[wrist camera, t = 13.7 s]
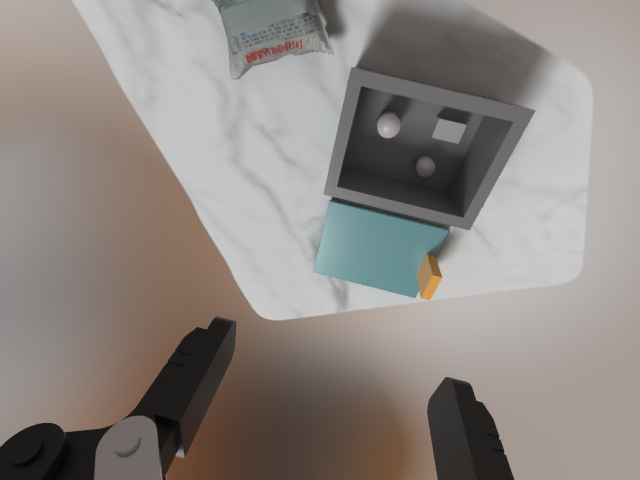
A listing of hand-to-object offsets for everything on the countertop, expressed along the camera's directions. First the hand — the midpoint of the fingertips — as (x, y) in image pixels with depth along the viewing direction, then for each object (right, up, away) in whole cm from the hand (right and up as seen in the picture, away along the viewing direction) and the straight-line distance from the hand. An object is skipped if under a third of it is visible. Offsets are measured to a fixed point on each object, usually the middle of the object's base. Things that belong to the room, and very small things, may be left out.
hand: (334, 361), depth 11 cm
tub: (+10, +17, +24) cm, 31 cm away
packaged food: (-5, +28, +20) cm, 35 cm away
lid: (+8, +3, +32) cm, 33 cm away
